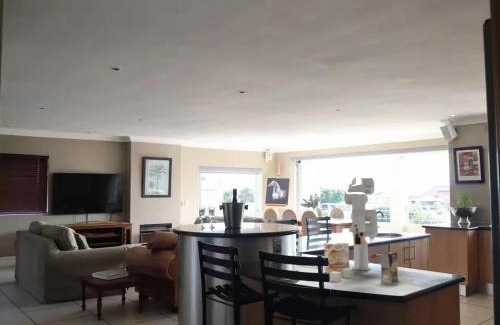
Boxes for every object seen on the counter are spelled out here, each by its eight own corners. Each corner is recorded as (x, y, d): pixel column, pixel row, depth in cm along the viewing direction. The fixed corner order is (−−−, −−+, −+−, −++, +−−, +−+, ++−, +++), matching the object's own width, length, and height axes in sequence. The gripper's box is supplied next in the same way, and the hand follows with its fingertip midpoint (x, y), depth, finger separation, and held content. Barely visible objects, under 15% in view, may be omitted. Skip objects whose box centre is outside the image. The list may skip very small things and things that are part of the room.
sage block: (345, 275, 271) (345, 268, 272) (353, 276, 268) (352, 268, 269) (342, 277, 267) (342, 269, 268) (350, 278, 264) (349, 269, 265)
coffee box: (391, 281, 251) (390, 254, 253) (381, 280, 256) (380, 253, 257) (398, 279, 258) (397, 252, 259) (388, 277, 262) (387, 251, 264)
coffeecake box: (328, 274, 278) (327, 244, 280) (324, 272, 285) (323, 243, 287) (350, 273, 281) (348, 243, 282) (345, 271, 288) (344, 242, 289)
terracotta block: (357, 243, 260) (357, 235, 260) (365, 244, 257) (365, 236, 257) (354, 244, 256) (353, 236, 256) (362, 245, 253) (361, 236, 253)
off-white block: (334, 279, 260) (333, 271, 260) (341, 280, 257) (341, 272, 257) (330, 281, 256) (330, 272, 256) (338, 281, 253) (337, 273, 253)
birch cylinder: (384, 281, 250) (383, 273, 251) (392, 282, 247) (392, 274, 248) (381, 283, 246) (380, 274, 247) (389, 284, 243) (389, 275, 244)
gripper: (358, 212, 267) (359, 241, 265) (347, 213, 253) (348, 244, 251) (369, 212, 262) (371, 242, 261) (359, 214, 248) (360, 245, 247)
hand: (359, 243), depth 256 cm, fingers closed on terracotta block, 5 cm apart
